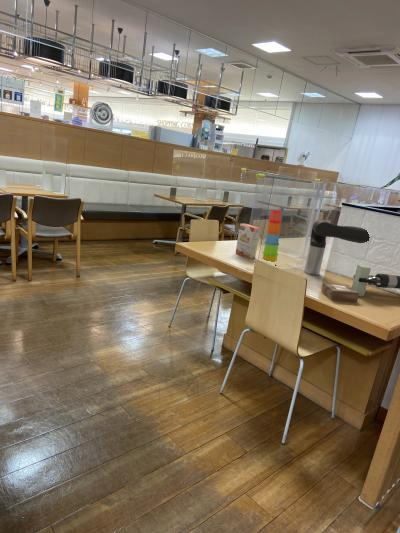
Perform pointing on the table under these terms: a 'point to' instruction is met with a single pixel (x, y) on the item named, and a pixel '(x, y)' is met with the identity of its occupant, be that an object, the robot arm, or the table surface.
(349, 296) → the plinth
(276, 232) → the stacking cups
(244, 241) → the cracker box
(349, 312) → the table surface
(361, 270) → the pillar
